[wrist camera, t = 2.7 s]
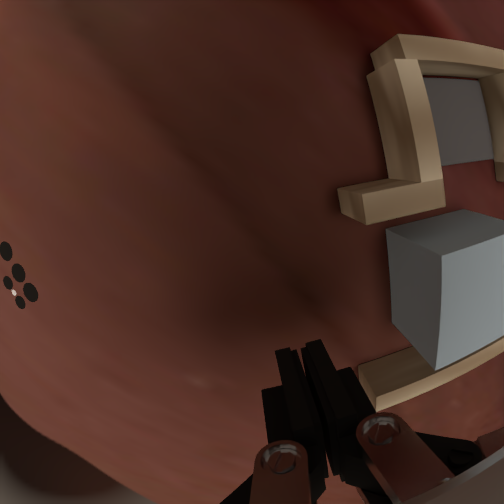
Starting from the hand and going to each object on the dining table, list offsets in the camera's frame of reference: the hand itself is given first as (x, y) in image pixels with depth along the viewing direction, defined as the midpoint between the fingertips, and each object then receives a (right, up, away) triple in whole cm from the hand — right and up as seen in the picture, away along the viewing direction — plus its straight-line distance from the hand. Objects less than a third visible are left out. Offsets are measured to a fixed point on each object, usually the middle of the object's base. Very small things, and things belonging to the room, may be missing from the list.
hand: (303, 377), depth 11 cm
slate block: (+8, +4, +5) cm, 10 cm away
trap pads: (+15, +13, +2) cm, 20 cm away
